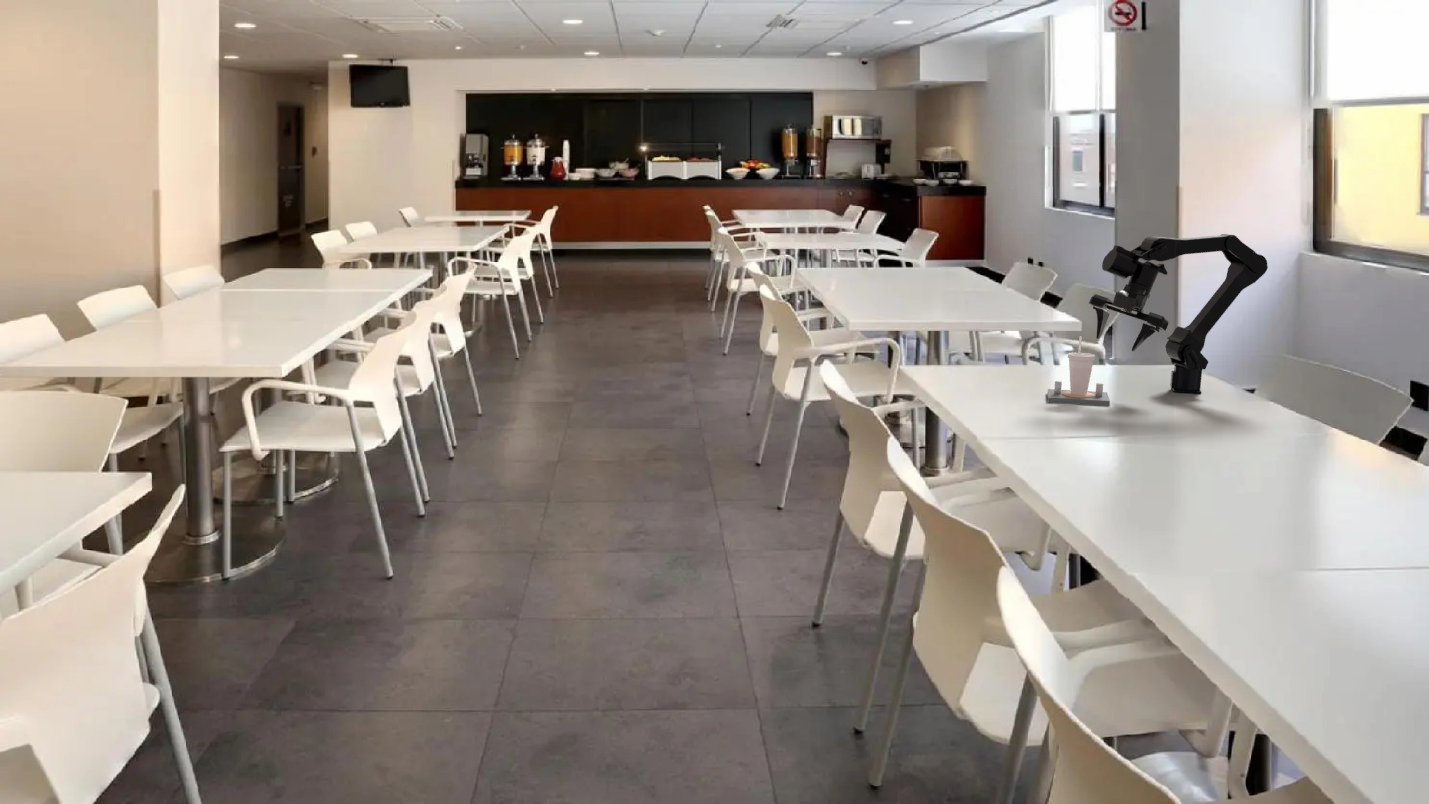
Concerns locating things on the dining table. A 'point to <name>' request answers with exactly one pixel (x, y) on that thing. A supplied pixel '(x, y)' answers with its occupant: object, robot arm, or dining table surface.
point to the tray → (1078, 396)
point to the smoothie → (1080, 370)
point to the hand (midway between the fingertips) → (1115, 344)
